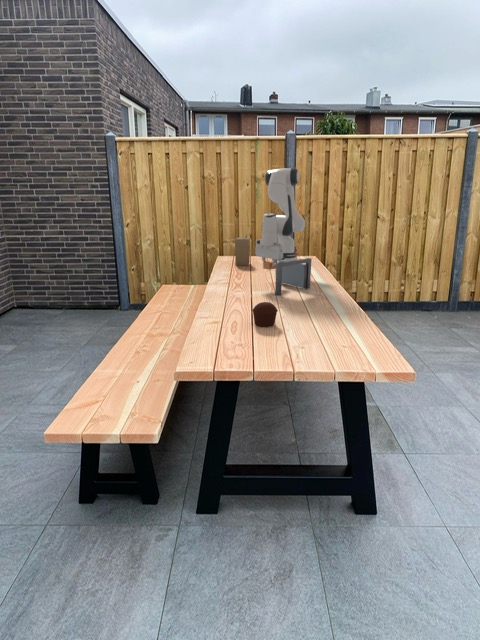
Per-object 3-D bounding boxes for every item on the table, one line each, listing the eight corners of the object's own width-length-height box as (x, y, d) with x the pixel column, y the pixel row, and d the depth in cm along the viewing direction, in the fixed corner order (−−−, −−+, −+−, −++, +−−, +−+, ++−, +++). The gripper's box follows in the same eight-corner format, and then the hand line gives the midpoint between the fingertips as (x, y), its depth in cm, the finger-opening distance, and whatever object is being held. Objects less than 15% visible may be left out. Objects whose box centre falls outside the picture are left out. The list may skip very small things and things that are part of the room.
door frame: (306, 287, 275) (308, 258, 270) (309, 288, 273) (311, 258, 268) (275, 294, 258) (276, 263, 252) (278, 295, 256) (279, 263, 251)
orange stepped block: (269, 269, 268) (269, 262, 266) (263, 268, 271) (263, 261, 270) (283, 267, 275) (283, 260, 274) (277, 266, 279) (277, 259, 278)
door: (306, 288, 272) (307, 264, 267) (304, 288, 271) (305, 265, 267) (280, 281, 287) (280, 259, 283) (278, 282, 286) (279, 260, 282)
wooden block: (249, 263, 349) (249, 237, 343) (248, 266, 340) (248, 239, 334) (236, 263, 350) (236, 237, 344) (235, 265, 341) (235, 239, 335)
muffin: (266, 330, 198) (266, 308, 195) (246, 324, 205) (247, 303, 202) (282, 323, 207) (283, 302, 204) (263, 319, 214) (263, 298, 211)
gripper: (286, 243, 261) (285, 267, 265) (261, 239, 275) (260, 262, 279) (278, 244, 257) (277, 268, 261) (253, 240, 271) (253, 263, 275)
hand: (268, 265), depth 270 cm, fingers closed on orange stepped block, 5 cm apart
